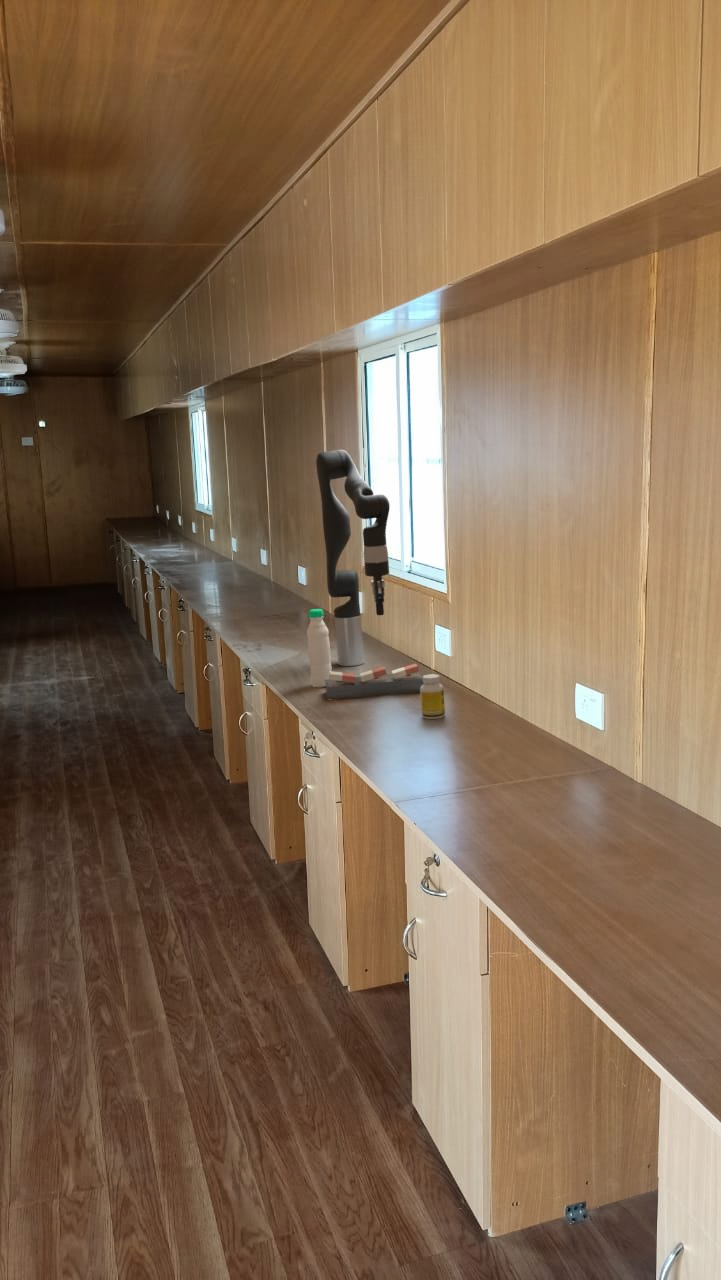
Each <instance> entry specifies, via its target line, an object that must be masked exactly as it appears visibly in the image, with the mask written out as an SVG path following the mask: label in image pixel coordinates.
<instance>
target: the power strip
mask: <svg viewBox="0 0 721 1280" xmlns="http://www.w3.org/2000/svg"><path fill="white" fill-rule="evenodd" d="M386 674H387V675H384V676H380V677H377V678H374V679H370V680H367V681H364V682H362V681H361V678H360V676H355V683H353V682H345V681H336V680H329V679H328V680H325V684H326V687H325V694H326V700H327V701H329V700H328V699H333V700H341V698H344V699H352V698H366V697H376V696H377V697H378V696H385V695H399V694H408V693H418V692H419V693H420V688H421V686H422V685H423V684H424V682H423V675H422V674H421V671H420V670H419V672H416V673H413V674H410V675H406V676H403V677H400V678H396V679H394V677H393V675H392V673H389V674H388V673H386Z"/></svg>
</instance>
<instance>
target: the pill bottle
mask: <svg viewBox="0 0 721 1280" xmlns="http://www.w3.org/2000/svg"><path fill="white" fill-rule="evenodd" d="M422 677H423V682H424V684H423V685H422V686H421V688H420V692H419V693H420V704H421V717H423V718H425V719H426V720H436V719H441V718H443V717H445V715H446V708H445V706H446V705H445V695H444V694H445V693H444V692H445V690H444V686H443V685H442V684H441V683H440V680H441V679H440V678H441V677H440V675H439V674H434V673H433V674H432V673H431V674H430V673H429V674H425V675H422Z"/></svg>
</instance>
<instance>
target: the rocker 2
mask: <svg viewBox="0 0 721 1280" xmlns="http://www.w3.org/2000/svg"><path fill="white" fill-rule="evenodd" d="M387 674H388V673H387V671H386V668H385V665H383V666H380V667H377V668H373V669H371V670H370V669H369V670H368V671H363V672H361V673H359V677H360V678H361V681H362V682H364V681H367V680H370V679H374V678H377V677H380V676H384V675H387Z"/></svg>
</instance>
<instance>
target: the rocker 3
mask: <svg viewBox="0 0 721 1280" xmlns="http://www.w3.org/2000/svg"><path fill="white" fill-rule="evenodd" d="M419 671H420V669H419V666H418V665H417V663H413V664H409V665H407V666H403V667H399V668H395V669H393V670H391V674H392V675H393V677H394V679H396V678H400V677H403V676H406V675H410V674H413V673H416V672H419Z"/></svg>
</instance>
